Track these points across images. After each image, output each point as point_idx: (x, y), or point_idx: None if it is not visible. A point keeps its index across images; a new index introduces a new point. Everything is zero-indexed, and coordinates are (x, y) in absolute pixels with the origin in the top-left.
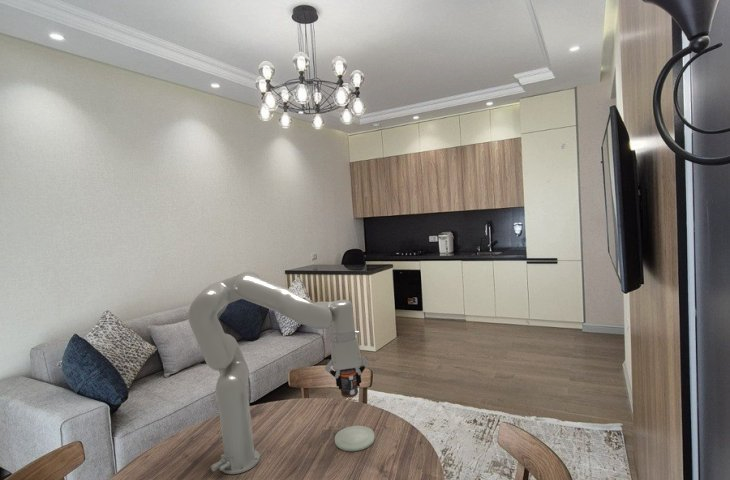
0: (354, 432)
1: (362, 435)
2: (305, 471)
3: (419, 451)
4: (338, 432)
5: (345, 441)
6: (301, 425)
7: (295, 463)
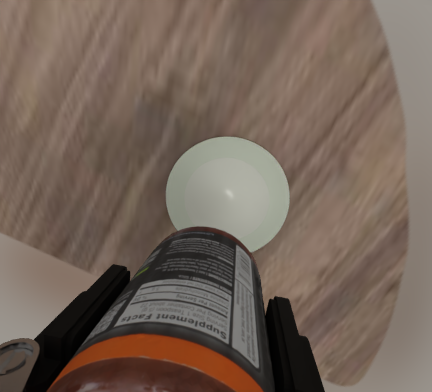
0: (231, 181)
1: (249, 209)
2: (86, 265)
3: (364, 318)
4: (184, 155)
5: (193, 216)
6: (76, 19)
7: (63, 226)
